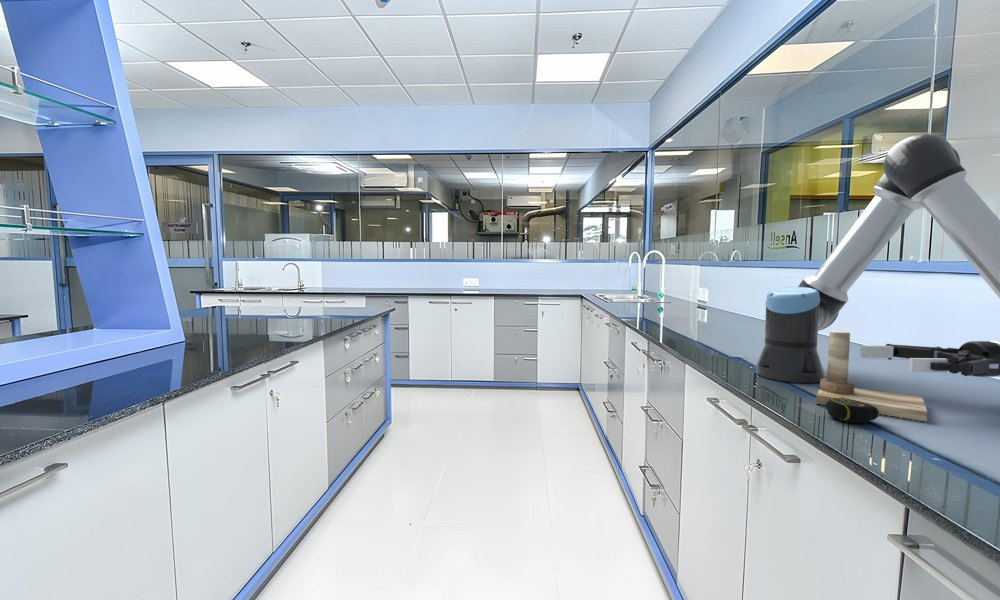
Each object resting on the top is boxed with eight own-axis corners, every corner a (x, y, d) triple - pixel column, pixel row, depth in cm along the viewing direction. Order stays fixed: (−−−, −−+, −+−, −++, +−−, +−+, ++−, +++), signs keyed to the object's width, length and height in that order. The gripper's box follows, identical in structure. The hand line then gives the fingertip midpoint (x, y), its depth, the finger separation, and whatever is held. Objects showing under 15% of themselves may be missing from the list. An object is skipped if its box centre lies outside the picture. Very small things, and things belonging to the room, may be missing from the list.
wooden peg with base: (821, 385, 101) (823, 329, 100) (854, 389, 97) (857, 331, 96) (818, 392, 96) (821, 333, 95) (853, 397, 92) (856, 336, 91)
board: (821, 391, 103) (821, 383, 103) (921, 406, 92) (922, 397, 92) (816, 404, 94) (816, 395, 93) (926, 422, 83) (927, 412, 82)
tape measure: (880, 424, 82) (881, 404, 82) (854, 428, 80) (855, 408, 80) (842, 412, 89) (843, 394, 89) (817, 416, 87) (818, 398, 87)
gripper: (1059, 393, 81) (934, 391, 83) (938, 363, 106) (844, 362, 108) (1063, 353, 80) (937, 352, 82) (940, 332, 105) (845, 331, 107)
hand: (884, 357), depth 95 cm, fingers open, 13 cm apart
